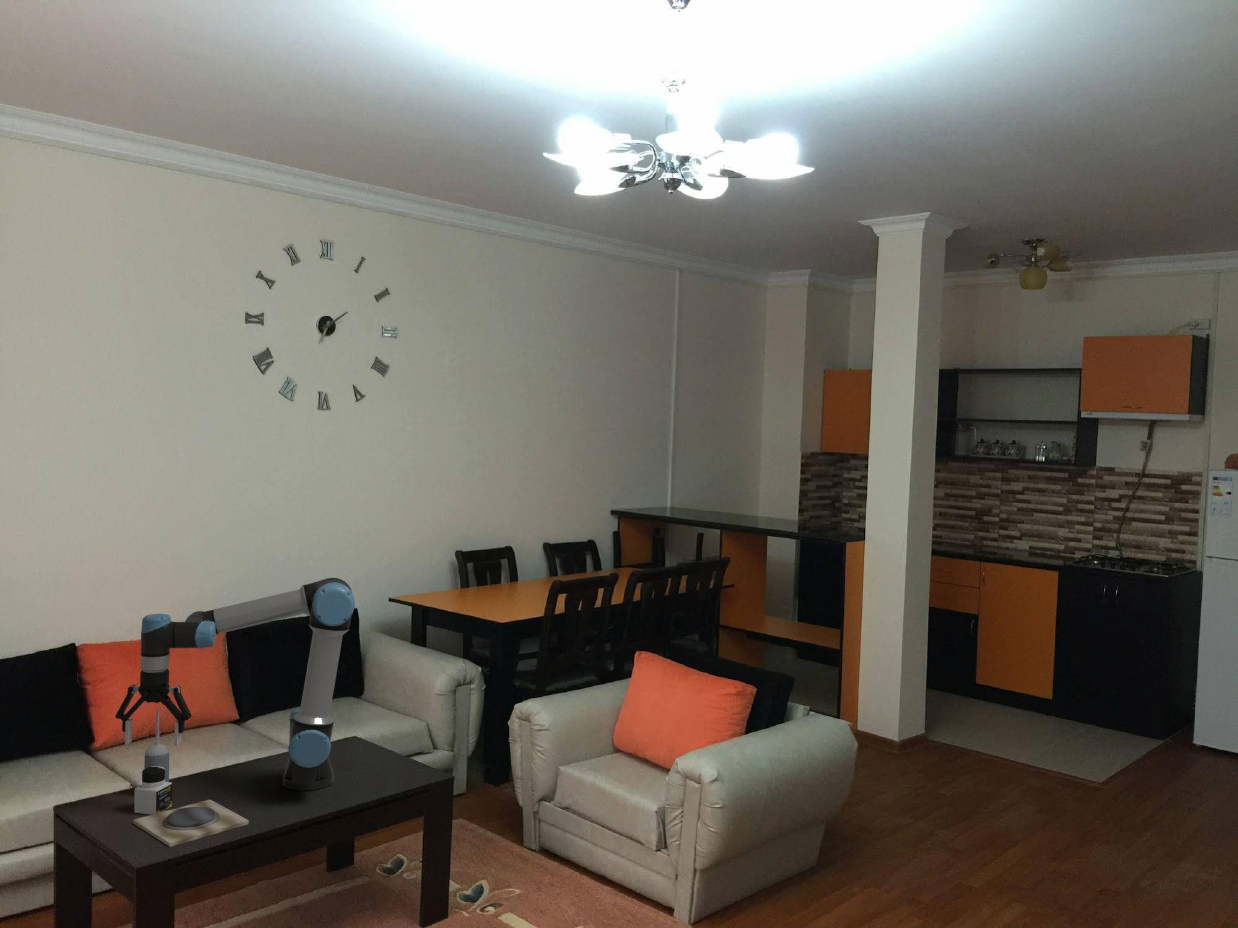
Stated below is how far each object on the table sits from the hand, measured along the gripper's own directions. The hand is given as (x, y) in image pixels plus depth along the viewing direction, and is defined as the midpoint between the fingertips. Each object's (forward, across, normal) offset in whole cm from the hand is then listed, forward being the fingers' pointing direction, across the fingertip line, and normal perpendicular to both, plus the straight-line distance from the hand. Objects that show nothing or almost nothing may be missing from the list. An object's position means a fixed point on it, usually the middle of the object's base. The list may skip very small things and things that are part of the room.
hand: (152, 743), depth 292 cm
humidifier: (+19, +4, -13) cm, 24 cm away
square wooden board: (+19, -14, +10) cm, 26 cm away
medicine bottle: (+19, 0, 0) cm, 19 cm away
